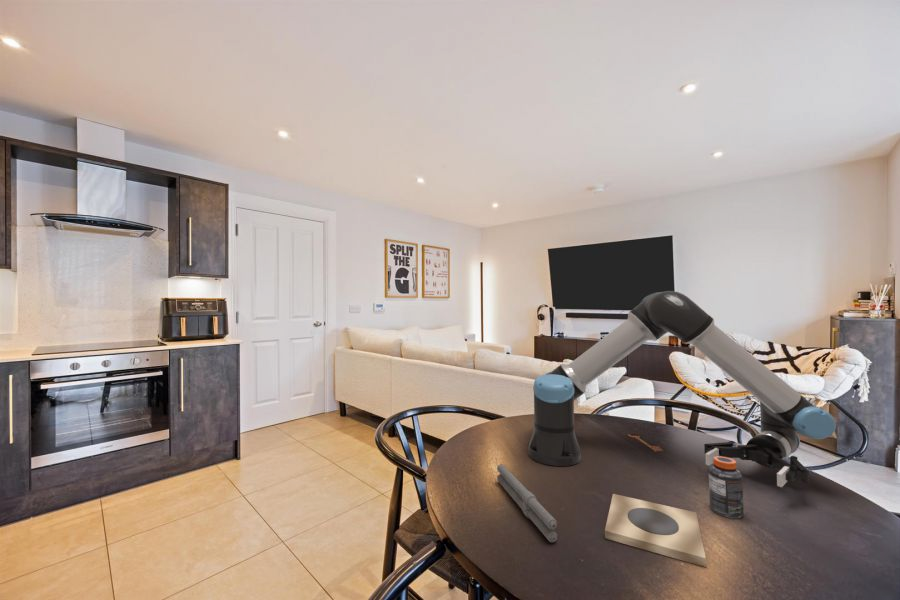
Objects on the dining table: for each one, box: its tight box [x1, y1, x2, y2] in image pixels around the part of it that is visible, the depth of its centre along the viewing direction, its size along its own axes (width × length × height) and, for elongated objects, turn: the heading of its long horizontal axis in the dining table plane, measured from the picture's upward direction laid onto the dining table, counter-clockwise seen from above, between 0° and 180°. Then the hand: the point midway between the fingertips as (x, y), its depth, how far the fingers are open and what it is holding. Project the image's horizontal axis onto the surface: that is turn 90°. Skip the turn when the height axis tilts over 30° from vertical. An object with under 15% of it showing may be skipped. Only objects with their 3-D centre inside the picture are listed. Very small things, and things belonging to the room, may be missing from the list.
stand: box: [604, 493, 707, 568], centre depth 73 cm, size 16×16×2 cm
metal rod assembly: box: [496, 463, 558, 543], centre depth 80 cm, size 26×3×5 cm, turn 15°
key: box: [627, 433, 664, 452], centre depth 120 cm, size 6×1×15 cm
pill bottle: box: [708, 456, 745, 519], centre depth 79 cm, size 6×6×11 cm
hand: (740, 469), depth 85 cm, fingers open, 13 cm apart
